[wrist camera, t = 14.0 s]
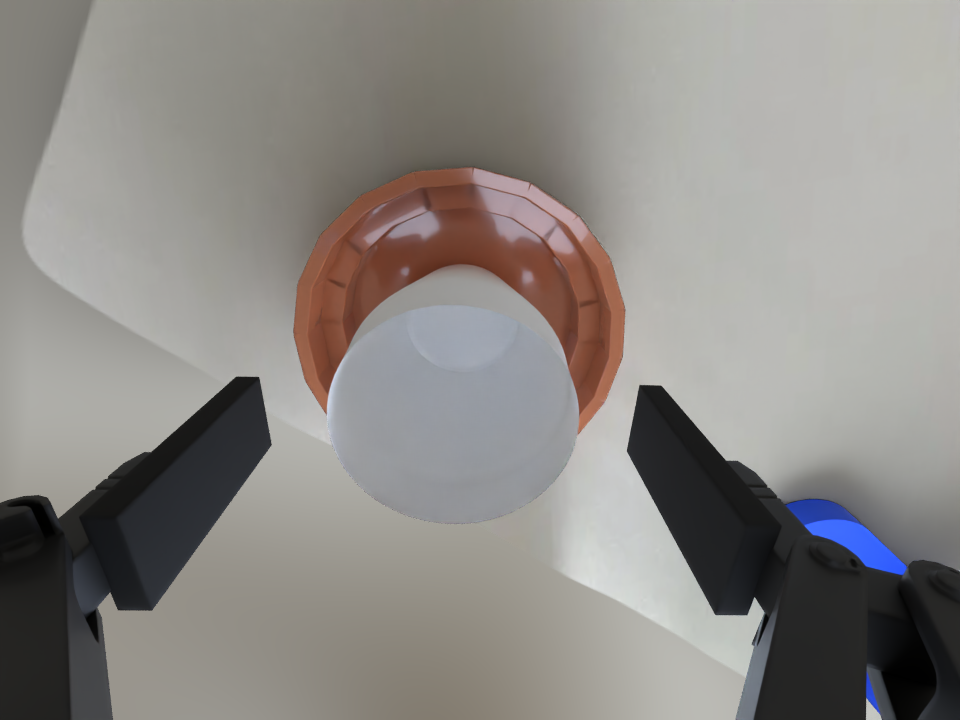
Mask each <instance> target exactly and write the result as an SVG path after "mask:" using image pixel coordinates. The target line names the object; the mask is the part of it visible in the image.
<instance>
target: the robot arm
mask: <svg viewBox="0 0 960 720" xmlns="http://www.w3.org/2000/svg"><path fill="white" fill-rule="evenodd" d="M271 445H272V444H271V439H270V433H269V428H268V422H267V417H266V412H265V406H264V401H263V395H262V390H261V384H260V379H259V377H235V378H234V379H233V380H232V381H231V382H230V383H229V384H228V385H226V386H225V387H224V388H223V389H222V390H221V391H220V392H219V393H217V394H216V395H215V396H214V397H213V398H212V399H211V400H210V401H208V402H207V403H206V404H205V405H204V406H203V407H202V408H201V409H200V410H198V411H197V412H196V413H195V414H194V415H193V416H192V417H190V418H189V419H188V420H187V421H186V422H185V423H184V424H183V425H181V426H180V427H179V428H178V429H177V430H176V431H175V432H174V433H172V434H171V435H170V436H169V437H168V438H167V439H166V440H165V441H163V442H162V443H161V444H160V445H159V446H158V447H157V448H156V449H154V450H153V451H152V452H144V453H142V454H140V455H138V456H136V457H134V458H133V459H131V460H129V461H127V462H125V463H123V464H122V465H121V466H120V467H119V468H118V469H117V470H115V471H114V472H113V473H112V474H110V475H109V476H108V479H105V480H103V481H102V482H101V483H100V484H99V485H97V486H96V489H95V490H92V491H91V492H89V493H88V494H87V495H86V496H85V497H83V498H82V499H81V500H80V501H79V502H77V503H76V504H75V505H74V506H73V507H72V508H70V509H69V510H68V511H67V512H66V513H65V514H63V515H62V516H61V517H60V518H59V519H58V518H57V516H56V514H55V511H54V509H53V507H52V505H51V503H50V501H49V499H48V498H47V497H43V496H39V495H34V496H23V497H19V498H15V499H11V500H7V501H4V502H2V503H0V720H113V716H112V708H111V698H110V689H109V680H108V670H107V661H106V652H105V643H104V634H103V625H102V617H101V615H100V613H99V610H98V608H97V607H98V606H99V604H100V603H101V602H102V601H103V600H104V598H105V597H106V596H107V595H108V594H109V593H110V592H111V594H112V597H113V600H114V602H115V604H116V607H117V609H118V610H149V611H150V610H153V608H154V607H155V606H156V604H157V603H158V602H159V600H160V599H161V597H162V596H163V594H164V593H165V592H166V590H167V589H168V588H169V586H170V585H171V584H172V582H173V581H174V579H175V578H176V577H177V575H178V574H179V572H180V571H181V570H182V568H183V567H184V566H185V564H186V563H187V561H188V560H189V559H190V557H191V556H192V555H193V553H194V552H195V550H196V549H197V548H198V546H199V545H200V543H201V542H202V541H203V539H204V538H205V536H206V535H207V534H208V532H209V531H210V530H211V528H212V527H213V525H214V524H215V523H216V521H217V520H218V518H219V517H220V516H221V514H222V513H223V511H224V510H225V509H226V507H227V506H228V505H229V503H230V502H231V501H232V499H233V498H234V496H235V495H236V494H237V492H238V491H239V489H240V488H241V487H242V485H243V484H244V482H245V481H246V480H247V478H248V477H249V475H250V474H251V473H252V471H253V470H254V469H255V467H256V466H257V464H258V463H259V462H260V460H261V459H262V458H263V456H264V455H265V454H266V452H267V451H268V449H269V448H270V446H271ZM627 452H628V454H629V456H630V458H631V460H632V462H633V463H634V465H635V467H636V469H637V471H638V473H639V475H640V476H641V478H642V480H643V482H644V484H645V486H646V488H647V489H648V491H649V493H650V495H651V497H652V499H653V500H654V502H655V504H656V506H657V508H658V510H659V512H660V513H661V515H662V517H663V519H664V521H665V523H666V524H667V526H668V528H669V530H670V532H671V534H672V536H673V537H674V539H675V541H676V543H677V545H678V547H679V549H680V550H681V552H682V554H683V556H684V558H685V560H686V561H687V563H688V565H689V567H690V569H691V571H692V573H693V574H694V576H695V578H696V580H697V582H698V584H699V585H700V587H701V589H702V591H703V593H704V595H705V597H706V598H707V600H708V602H709V604H710V606H711V608H712V610H713V611H714V613H715V615H748V612H749V609H750V607H751V604H752V602H753V599H754V597H755V598H756V600H757V601H758V603H759V604H760V606H761V607H762V609H763V610H764V612H765V613H764V615H763V618H762V620H761V622H760V625H759V627H758V630H757V632H756V635H755V637H754V639H753V642H752V645H754V650H753V653H752V657H751V661H750V665H749V669H748V673H747V677H746V680H745V684H744V688H743V692H742V696H741V700H740V704H739V707H738V712H737V715H736V720H866V680H867V673H868V676H869V680H870V683H871V686H872V689H873V692H874V696H875V699H876V702H877V705H878V708H879V712H880V715H881V718H882V720H960V572H959V571H957V570H955V569H953V568H950V567H947V566H945V565H942V564H939V563H936V562H931V561H925V560H919V561H913V562H912V563H911V564H910V565H909V566H908V567H907V569H906V571H905V572H904V574H903V575H899V574H895V573H891V572H887V571H883V570H879V569H875V568H871V567H867V566H865V564H864V563H863V562H862V561H861V560H860V558H859V557H858V556H857V555H856V554H854V553H853V552H852V551H850V550H849V549H848V548H846V547H845V546H843V545H841V544H839V543H837V542H835V541H833V540H831V539H828V538H824V537H821V536H818V535H812V533H811V532H810V531H809V530H808V529H807V528H806V527H805V526H804V525H803V524H802V523H801V522H800V520H799V519H798V518H797V517H796V516H795V515H794V514H793V513H792V512H791V511H790V510H789V509H788V507H787V506H786V505H785V504H784V503H783V502H782V501H781V500H780V499H777V496H776V494H775V493H774V492H773V491H772V490H771V489H770V488H767V485H766V484H765V483H764V481H763V480H762V479H761V478H760V477H759V476H758V475H757V474H756V473H755V472H754V471H752V470H751V469H749V468H748V467H746V466H745V465H743V464H742V463H740V462H738V461H726V460H725V459H724V458H723V457H722V456H721V454H720V453H719V452H718V451H717V450H716V449H715V447H714V446H713V445H712V444H711V443H710V442H709V441H708V439H707V438H706V437H705V436H704V435H703V434H702V432H701V431H700V430H699V429H698V428H697V427H696V425H695V424H694V423H693V422H692V421H691V420H690V418H689V417H688V416H687V415H686V414H685V413H684V411H683V410H682V409H681V408H680V407H679V406H678V404H677V403H676V402H675V401H674V400H673V399H672V397H671V396H670V395H669V394H668V393H667V392H666V391H665V389H664V388H663V387H662V386H654V385H640V386H639V391H638V396H637V401H636V406H635V412H634V417H633V422H632V427H631V432H630V437H629V443H628V448H627Z"/></svg>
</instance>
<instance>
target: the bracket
mask: <svg viewBox="0 0 960 720" xmlns="http://www.w3.org/2000/svg"><path fill="white" fill-rule="evenodd" d="M786 506H787V507H788V509H789V510H790V511H791V512H792V513H793V514H794V515H795V516H796V517H797V518H798V519H799V520H800V522H801V523H802V524H803V525H804V526H805V527H806V528H807V529H808V530H809V531H810V532H811V533H812V535H818V536H821V537H824V538H828V539H831V540H833V541H835V542H837V543H839V544H841V545H843V546H845V547H846V548H848V549H849V550H850V551H852V552H853V553H854V554H856V555H857V556H858V557H859V558H860V560H861V561H862V562H863V563H864V564H865V566H867V567H871V568H875V569H879V570H883V571H887V572H891V573H895V574H899V575H903V574H904V572H905V571H906V569H907V566H906V565H904V564H903V563H902V562H901V561H900V560H899V559H898V558H897V557H896V556H895V555H894V554H893V553H892V552H891V551H890V550H889V549H888V548H887V547H886V546H885V545H884V544H882V543H881V542H880V541H879V540H878V539H877V538H876V537H875V536H874V535H873V534H872V533H871V532H870V531H869V530H868V529H867V528H866V527H864V526H863V525H862V524H861V523H860V522H859V521H858V520H857V519H856V518H855V517H853V516H852V515H851V514H850V513H849V512H848V511H847V510H846V509H844V508H843V507H842V506H840V505H838V504H836V503H834V502H831V501H827V500H819V499H809V500H801V501H796V502H792V503H789V504H786ZM866 698H867V699H868V700H869V702H870V703H871V704H872V705H873V706H874V708H875V709H876V710H877V711H878V712H879V708H878V705H877V702H876V699H875V696H874V692H873V689H872V686H871V683H870V680H869V676H868V673H867V680H866ZM879 714H880V712H879Z"/></svg>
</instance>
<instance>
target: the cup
mask: <svg viewBox="0 0 960 720" xmlns="http://www.w3.org/2000/svg"><path fill="white" fill-rule="evenodd" d="M327 423H328V430H329V435H330V439H331V442H332V445H333V447H334V450H335V452H336V454H337V457H338V459H339V460H340V462H341V464H342V465H343V467H344V469H345V470H346V471H347V473H348V474H349V475H350V477H351V478H352V479H353V480H354V481H355V482H356V483H357V485H359V486H360V487H361V488H362V489H363V490H364V491H365V492H366V493H367V494H369V495H370V496H371V497H373V498H374V499H375V500H377V501H378V502H380V503H382V504H383V505H385V506H387V507H389V508H391V509H392V510H395V511H397V512H399V513H401V514H404V515H407V516H410V517H413V518H416V519H420V520H424V521H429V522H436V523H445V524H465V523H475V522H481V521H486V520H491V519H494V518H497V517H501V516H503V515H506V514H508V513H511V512H513V511H515V510H517V509H519V508H521V507H523V506H525V505H526V504H528V503H530V502H531V501H533V500H534V499H535V498H537V497H538V496H539V495H541V494H542V493H543V492H544V491H545V490H546V489H547V488H548V487H549V486H550V485H551V484H552V483H553V482H554V481H555V480H556V478H557V477H558V476H559V475H560V473H561V472H562V470H563V469H564V467H565V466H566V464H567V462H568V460H569V458H570V456H571V454H572V451H573V448H574V446H575V442H576V438H577V434H578V427H579V405H578V399H577V394H576V390H575V387H574V384H573V381H572V378H571V375H570V372H569V369H568V366H567V361H566V357H565V354H564V351H563V348H562V345H561V343H560V341H559V339H558V337H557V335H556V334H555V332H554V330H553V329H552V327H551V326H550V324H549V323H548V322H547V320H546V319H545V318H544V317H543V315H542V314H541V313H540V312H539V311H538V310H537V309H536V308H535V307H534V306H533V305H531V304H530V303H529V302H528V301H527V300H526V299H525V298H523V297H522V296H521V295H520V294H519V293H517V292H516V291H515V290H514V289H512V288H511V287H510V286H509V285H508V284H506V283H505V282H504V281H503V280H501V279H500V278H499V277H498V276H496V275H495V274H493V273H492V272H490V271H488V270H486V269H484V268H481V267H478V266H474V265H467V264H456V265H449V266H446V267H443V268H440V269H438V270H436V271H433V272H432V273H430V274H428V275H426V276H424V277H423V278H421V279H419V280H417V281H415V282H413V283H412V284H410V285H408V286H406V287H404V288H403V289H401V290H399V291H398V292H396V293H394V294H393V295H391V296H390V297H388V298H387V299H386V300H384V301H383V302H382V303H381V304H379V305H378V306H377V307H376V308H375V309H374V310H373V311H372V312H371V313H370V314H369V315H368V316H367V317H366V319H365V320H364V321H363V322H362V324H361V325H360V327H359V328H358V330H357V331H356V333H355V335H354V337H353V339H352V341H351V343H350V345H349V348H348V350H347V352H346V354H345V356H344V357H343V359H342V361H341V363H340V365H339V367H338V369H337V371H336V373H335V375H334V378H333V380H332V383H331V386H330V391H329V395H328V402H327Z"/></svg>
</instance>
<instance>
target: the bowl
mask: <svg viewBox="0 0 960 720" xmlns="http://www.w3.org/2000/svg"><path fill="white" fill-rule="evenodd" d="M456 264H467V265H474V266H478V267H481V268H484V269H486V270H488V271H490V272H492V273H493V274H495V275H496V276H498V277H499V278H500V279H501V280H503V281H504V282H505V283H506V284H508V285H509V286H510V287H511V288H512V289H514V290H515V291H516V292H517V293H519V294H520V295H521V296H522V297H523V298H525V299H526V300H527V301H528V302H529V303H530V304H531V305H533V306H534V307H535V308H536V309H537V310H538V311H539V312H540V313H541V314H542V315H543V317H544V318H545V319H546V320H547V322H548V323H549V324H550V326H551V327H552V329H553V330H554V332H555V334H556V335H557V337H558V339H559V341H560V343H561V345H562V348H563V351H564V354H565V357H566V361H567V366H568V369H569V372H570V375H571V378H572V381H573V384H574V387H575V390H576V394H577V399H578V405H579V427H578V434H579V433H580V432H581V431H582V429H583V428H584V427H585V426H586V425H587V423H588V422H589V421H590V420H591V418H592V417H593V416H594V415H595V414H596V412H597V411H598V410H599V409H600V407H601V406H602V405H603V404H604V402H605V400H606V398H607V395H608V393H609V390H610V388H611V385H612V383H613V380H614V378H615V375H616V373H617V370H618V368H619V365H620V363H621V360H622V358H623V343H624V325H625V306H624V303H623V300H622V296H621V293H620V289H619V286H618V282H617V279H616V275H615V272H614V269H613V265H612V262H611V260H610V257H609V256H608V255H607V253H606V252H605V250H604V249H603V248H602V246H601V245H600V244H599V242H598V241H597V239H596V238H595V237H594V235H593V234H592V232H591V231H590V230H589V228H588V227H587V226H586V224H585V223H584V221H583V220H582V219H581V217H580V216H579V215H577V213H575V212H574V211H572V210H571V209H569V208H568V207H567V206H565V205H564V204H562V203H561V202H559V201H558V200H556V199H555V198H553V197H552V196H550V195H549V194H548V193H546V192H545V191H543V190H542V189H540V188H539V187H537V186H536V185H534V184H533V183H530V182H529V181H525V180H521V179H518V178H514V177H510V176H506V175H503V174H499V173H495V172H491V171H488V170H484V169H480V168H476V167H463V168H450V169H438V170H426V171H415V172H411V173H409V174H407V175H404V176H402V177H400V178H398V179H396V180H393V181H391V182H389V183H387V184H385V185H382V186H380V187H378V188H376V189H374V190H371V191H369V192H367V193H365V194H363V195H361V196H360V197H358V198H357V199H356V200H355V201H354V202H353V203H352V204H351V205H350V206H349V207H348V208H347V209H346V210H345V211H344V212H343V213H342V214H341V215H340V216H339V217H338V218H337V219H336V220H335V221H334V222H333V223H332V224H331V225H330V226H329V227H328V228H327V229H326V230H325V231H324V232H323V233H322V234H321V236H319V238H318V240H317V243H316V245H315V247H314V249H313V251H312V253H311V255H310V258H309V260H308V262H307V264H306V266H305V268H304V270H303V273H302V275H301V277H300V279H299V281H298V285H297V296H296V307H295V319H294V330H293V333H294V338H295V342H296V346H297V350H298V354H299V358H300V362H301V366H302V370H303V374H304V378H305V380H306V383H307V385H308V386H309V388H310V389H311V391H312V393H313V394H314V396H315V397H316V399H317V401H318V402H319V404H320V405H321V407H322V409H323V410H324V412H325V413H326V415H327V402H328V395H329V391H330V386H331V383H332V380H333V378H334V375H335V373H336V371H337V369H338V367H339V365H340V363H341V361H342V359H343V357H344V356H345V354H346V352H347V350H348V348H349V345H350V343H351V341H352V339H353V337H354V335H355V333H356V331H357V330H358V328H359V327H360V325H361V324H362V322H363V321H364V320H365V319H366V317H367V316H368V315H369V314H370V313H371V312H372V311H373V310H374V309H375V308H376V307H377V306H378V305H379V304H381V303H382V302H383V301H384V300H386V299H387V298H388V297H390V296H391V295H393V294H394V293H396V292H398V291H399V290H401V289H403V288H404V287H406V286H408V285H410V284H412V283H413V282H415V281H417V280H419V279H421V278H423V277H424V276H426V275H428V274H430V273H432V272H433V271H436V270H438V269H440V268H443V267H446V266H449V265H456ZM578 434H577V436H578Z"/></svg>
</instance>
